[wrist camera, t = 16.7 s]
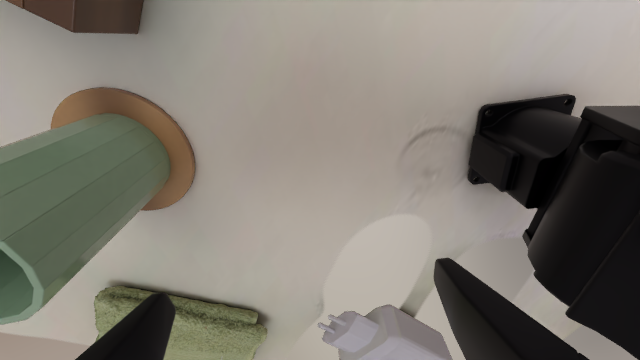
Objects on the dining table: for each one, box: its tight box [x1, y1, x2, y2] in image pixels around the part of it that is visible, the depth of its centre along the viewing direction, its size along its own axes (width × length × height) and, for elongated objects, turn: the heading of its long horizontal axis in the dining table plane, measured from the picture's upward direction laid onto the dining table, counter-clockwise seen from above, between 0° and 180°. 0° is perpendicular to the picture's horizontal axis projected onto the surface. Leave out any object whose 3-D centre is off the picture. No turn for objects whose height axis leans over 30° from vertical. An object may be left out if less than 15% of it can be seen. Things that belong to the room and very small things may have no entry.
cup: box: [0, 113, 171, 325], centre depth 15 cm, size 7×7×11 cm
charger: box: [318, 305, 452, 360], centre depth 29 cm, size 5×9×15 cm
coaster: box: [51, 88, 195, 210], centre depth 20 cm, size 10×10×1 cm
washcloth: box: [94, 286, 267, 360], centre depth 29 cm, size 13×18×3 cm
